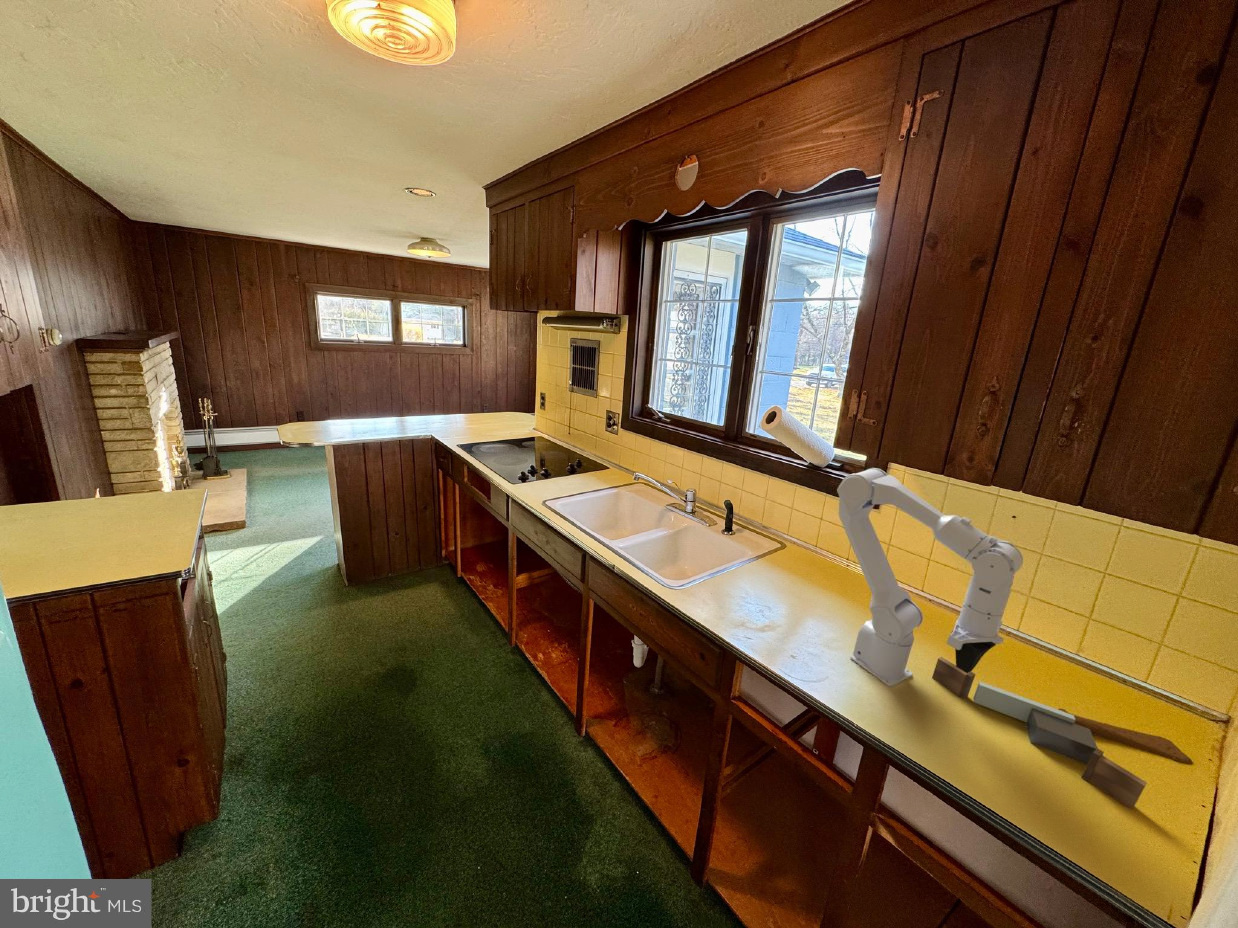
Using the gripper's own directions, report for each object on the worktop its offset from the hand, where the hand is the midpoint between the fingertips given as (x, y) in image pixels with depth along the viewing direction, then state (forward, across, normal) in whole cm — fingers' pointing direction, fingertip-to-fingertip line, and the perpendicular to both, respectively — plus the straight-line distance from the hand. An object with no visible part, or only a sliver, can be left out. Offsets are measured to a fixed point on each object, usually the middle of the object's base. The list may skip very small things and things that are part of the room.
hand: (963, 668), depth 87 cm
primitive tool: (+10, +23, -17) cm, 31 cm away
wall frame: (+10, +6, -9) cm, 14 cm away
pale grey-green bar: (+9, +10, -7) cm, 15 cm away
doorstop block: (+10, +10, -13) cm, 19 cm away
